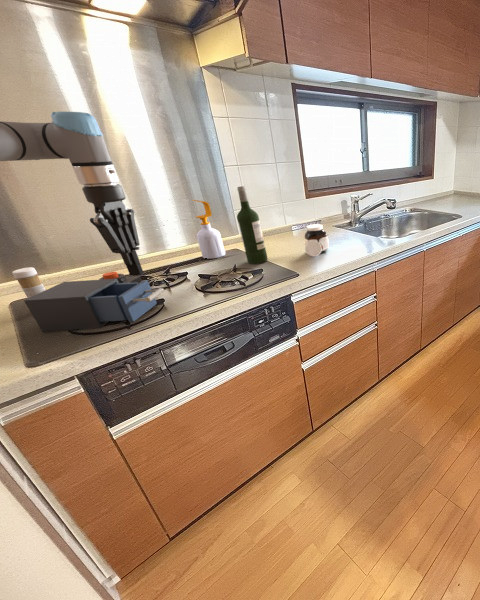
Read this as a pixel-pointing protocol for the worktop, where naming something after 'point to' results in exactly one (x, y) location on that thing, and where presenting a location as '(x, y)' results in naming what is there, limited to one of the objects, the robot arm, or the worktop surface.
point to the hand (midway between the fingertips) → (137, 274)
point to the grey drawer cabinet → (67, 305)
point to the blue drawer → (124, 301)
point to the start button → (110, 275)
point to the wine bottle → (251, 231)
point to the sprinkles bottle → (29, 281)
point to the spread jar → (316, 240)
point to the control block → (127, 279)
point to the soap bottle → (209, 237)
